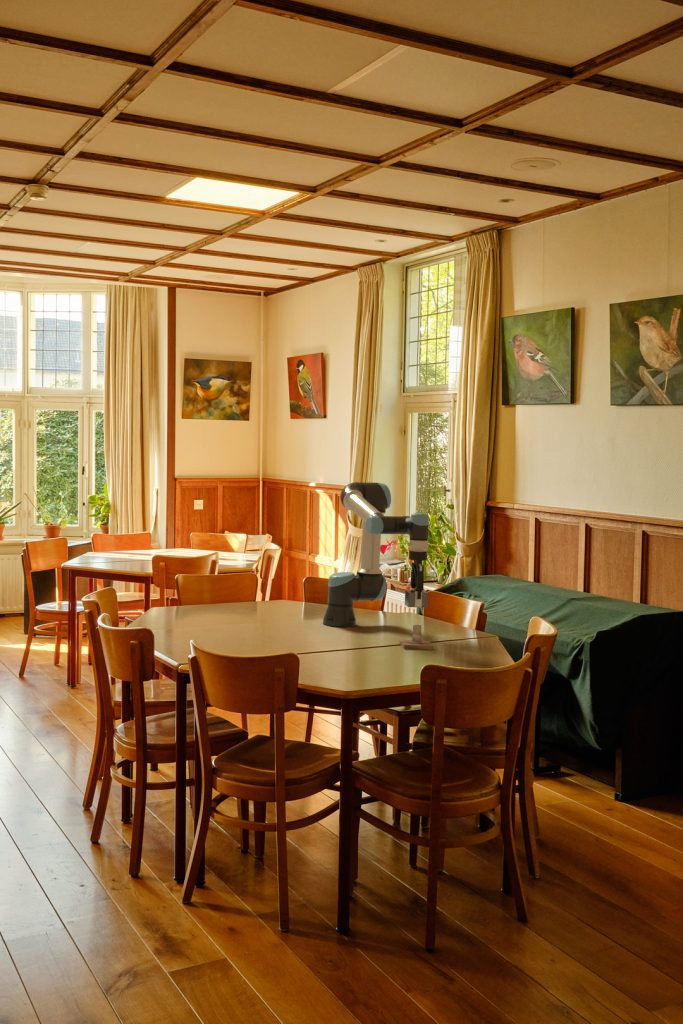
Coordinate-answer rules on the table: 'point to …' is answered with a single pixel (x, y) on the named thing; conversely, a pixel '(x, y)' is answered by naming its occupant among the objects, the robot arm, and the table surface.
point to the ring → (411, 598)
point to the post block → (416, 641)
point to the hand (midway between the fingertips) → (416, 605)
